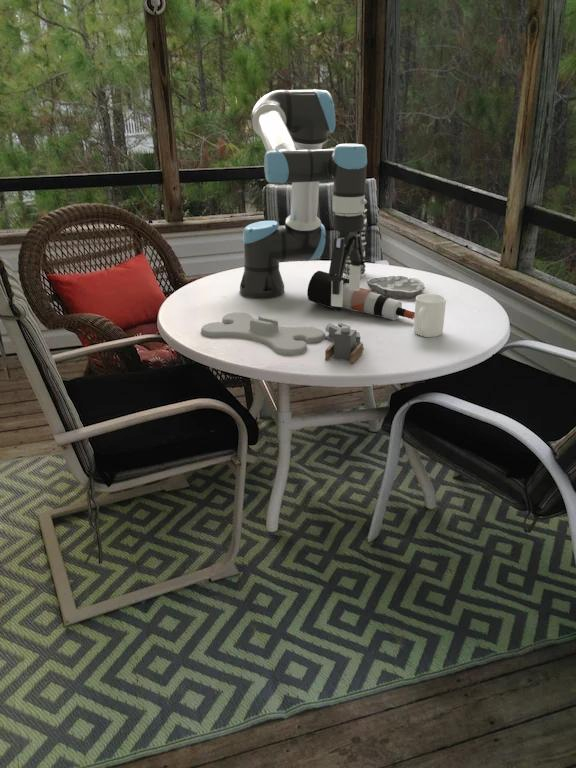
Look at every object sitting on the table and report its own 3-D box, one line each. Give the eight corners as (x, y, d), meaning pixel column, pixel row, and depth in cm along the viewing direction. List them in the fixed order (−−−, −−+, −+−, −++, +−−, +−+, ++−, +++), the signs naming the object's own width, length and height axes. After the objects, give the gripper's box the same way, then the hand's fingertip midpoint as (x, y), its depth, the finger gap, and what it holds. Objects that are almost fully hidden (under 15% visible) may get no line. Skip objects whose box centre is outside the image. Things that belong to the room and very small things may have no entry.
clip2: (338, 343, 181) (339, 331, 180) (361, 343, 181) (362, 330, 180) (339, 350, 177) (340, 338, 175) (363, 350, 176) (364, 338, 175)
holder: (295, 359, 173) (295, 341, 171) (195, 335, 189) (193, 318, 187) (330, 336, 187) (331, 320, 185) (234, 315, 204) (233, 300, 202)
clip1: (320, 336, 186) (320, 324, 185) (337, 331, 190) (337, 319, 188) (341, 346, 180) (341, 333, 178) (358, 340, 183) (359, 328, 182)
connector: (350, 361, 170) (351, 331, 167) (333, 358, 172) (334, 329, 168) (355, 354, 174) (356, 325, 171) (339, 352, 176) (340, 323, 172)
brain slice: (435, 290, 225) (435, 282, 223) (410, 303, 213) (411, 294, 211) (385, 280, 236) (385, 272, 235) (359, 292, 224) (359, 283, 223)
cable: (406, 339, 196) (405, 315, 188) (310, 308, 211) (305, 285, 204) (421, 316, 201) (420, 292, 193) (325, 287, 216) (321, 264, 208)
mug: (429, 344, 180) (432, 308, 176) (402, 337, 185) (404, 302, 180) (447, 331, 189) (450, 296, 185) (420, 325, 194) (423, 291, 189)
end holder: (325, 359, 171) (325, 349, 170) (335, 349, 178) (335, 339, 176) (353, 364, 168) (353, 354, 167) (362, 353, 175) (363, 343, 174)
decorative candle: (367, 271, 245) (370, 203, 234) (364, 278, 237) (367, 208, 226) (343, 270, 247) (345, 202, 236) (339, 277, 239) (341, 207, 228)
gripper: (346, 224, 145) (343, 315, 155) (378, 204, 166) (374, 285, 175) (314, 222, 148) (313, 311, 157) (350, 202, 169) (347, 282, 178)
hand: (345, 298), depth 166 cm, fingers open, 13 cm apart
